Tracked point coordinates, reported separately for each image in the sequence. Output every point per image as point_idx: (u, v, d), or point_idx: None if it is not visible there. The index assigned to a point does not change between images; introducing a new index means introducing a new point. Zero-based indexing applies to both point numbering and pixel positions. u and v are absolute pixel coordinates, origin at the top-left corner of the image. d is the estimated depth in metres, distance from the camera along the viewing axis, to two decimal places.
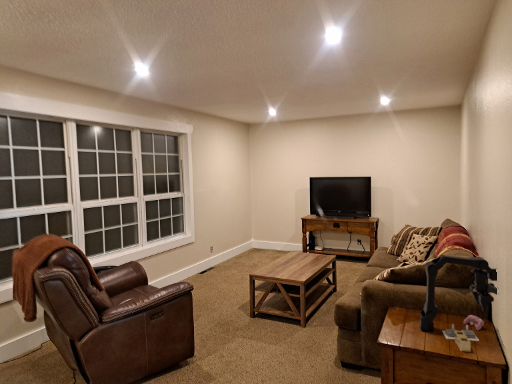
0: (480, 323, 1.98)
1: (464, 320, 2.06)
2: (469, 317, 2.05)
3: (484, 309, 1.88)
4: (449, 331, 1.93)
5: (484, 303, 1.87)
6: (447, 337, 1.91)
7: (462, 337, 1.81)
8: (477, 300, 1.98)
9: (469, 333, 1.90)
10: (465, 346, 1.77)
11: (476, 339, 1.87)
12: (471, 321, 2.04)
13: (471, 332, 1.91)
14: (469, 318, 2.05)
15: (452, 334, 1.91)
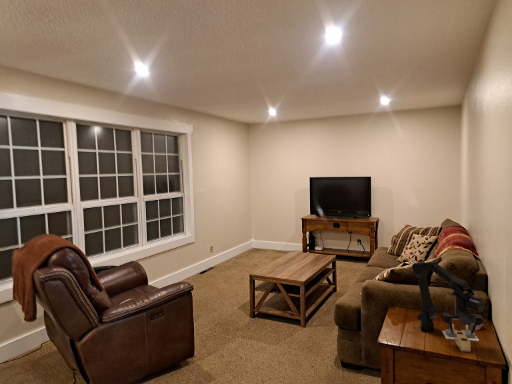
0: None
1: None
2: None
3: None
4: (449, 331, 1.93)
5: (449, 324, 1.84)
6: (447, 337, 1.91)
7: (462, 337, 1.81)
8: (470, 329, 1.81)
9: (469, 333, 1.90)
10: (465, 346, 1.77)
11: (476, 339, 1.87)
12: None
13: None
14: None
15: (452, 334, 1.91)
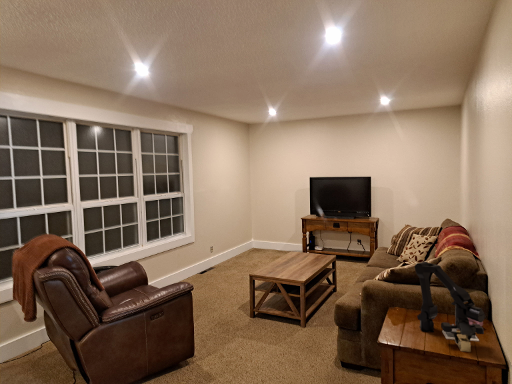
0: (479, 323, 1.98)
1: None
2: None
3: None
4: None
5: None
6: (447, 337, 1.91)
7: (462, 337, 1.81)
8: None
9: None
10: (465, 346, 1.77)
11: (476, 339, 1.87)
12: (470, 321, 2.04)
13: None
14: (468, 318, 2.05)
15: (452, 334, 1.91)
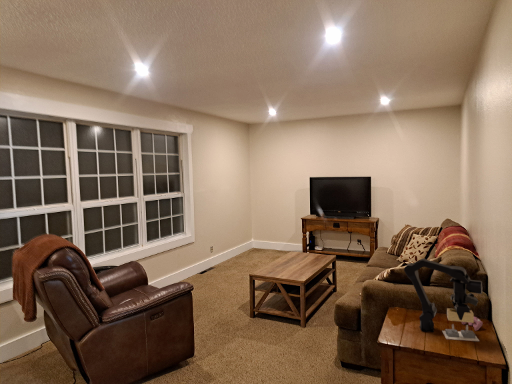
0: (478, 323, 1.98)
1: None
2: None
3: (460, 318, 1.88)
4: (449, 331, 1.93)
5: (460, 312, 1.87)
6: (447, 337, 1.91)
7: None
8: None
9: (469, 333, 1.90)
10: None
11: (476, 339, 1.87)
12: None
13: (471, 332, 1.91)
14: None
15: (452, 334, 1.91)
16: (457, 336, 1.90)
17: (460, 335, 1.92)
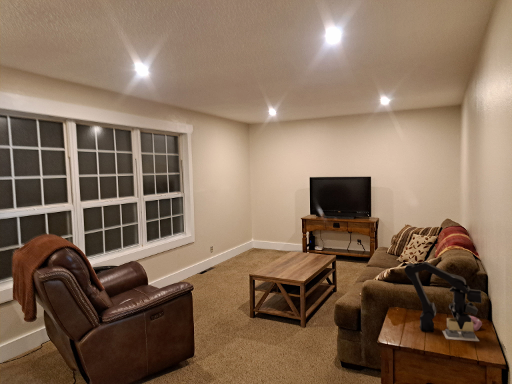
0: (478, 324, 1.97)
1: None
2: None
3: (461, 327, 1.89)
4: (449, 331, 1.93)
5: (460, 321, 1.88)
6: (447, 337, 1.91)
7: None
8: None
9: (469, 333, 1.90)
10: None
11: (476, 339, 1.87)
12: None
13: (471, 332, 1.91)
14: None
15: (452, 334, 1.91)
16: (457, 336, 1.90)
17: (460, 335, 1.92)
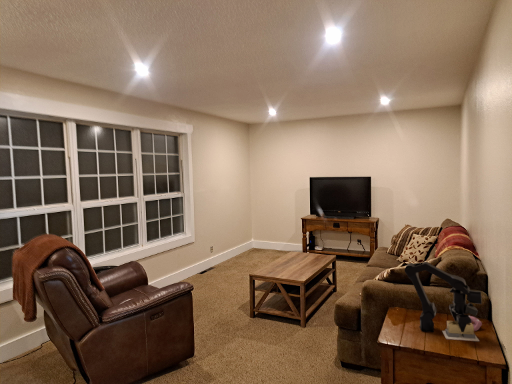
0: (478, 324, 1.97)
1: None
2: None
3: (462, 330, 1.87)
4: None
5: (462, 324, 1.86)
6: (447, 337, 1.91)
7: None
8: (456, 320, 1.96)
9: None
10: None
11: (476, 339, 1.87)
12: None
13: None
14: None
15: (452, 334, 1.91)
16: (457, 336, 1.90)
17: (460, 335, 1.92)
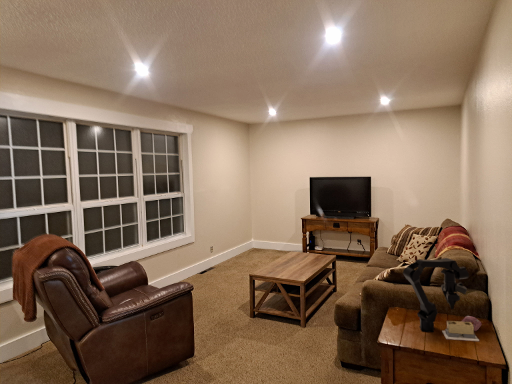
0: (477, 324, 1.97)
1: (461, 321, 2.05)
2: (466, 318, 2.04)
3: (452, 307, 1.99)
4: None
5: (451, 302, 1.98)
6: (447, 337, 1.91)
7: (462, 323, 1.91)
8: None
9: None
10: None
11: (476, 339, 1.87)
12: None
13: None
14: (466, 319, 2.04)
15: (452, 334, 1.91)
16: (457, 336, 1.90)
17: (460, 335, 1.92)
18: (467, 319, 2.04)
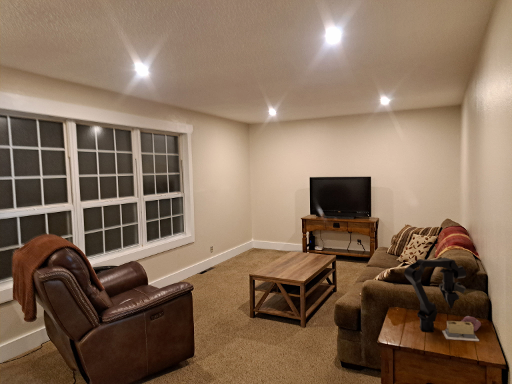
0: (477, 324, 1.97)
1: (461, 321, 2.05)
2: (466, 318, 2.04)
3: (451, 306, 2.00)
4: None
5: (450, 301, 1.99)
6: (447, 337, 1.91)
7: (462, 323, 1.91)
8: (445, 298, 2.09)
9: None
10: None
11: (476, 339, 1.87)
12: None
13: None
14: (466, 319, 2.04)
15: (452, 334, 1.91)
16: (457, 336, 1.90)
17: (460, 335, 1.92)
18: (467, 319, 2.04)
